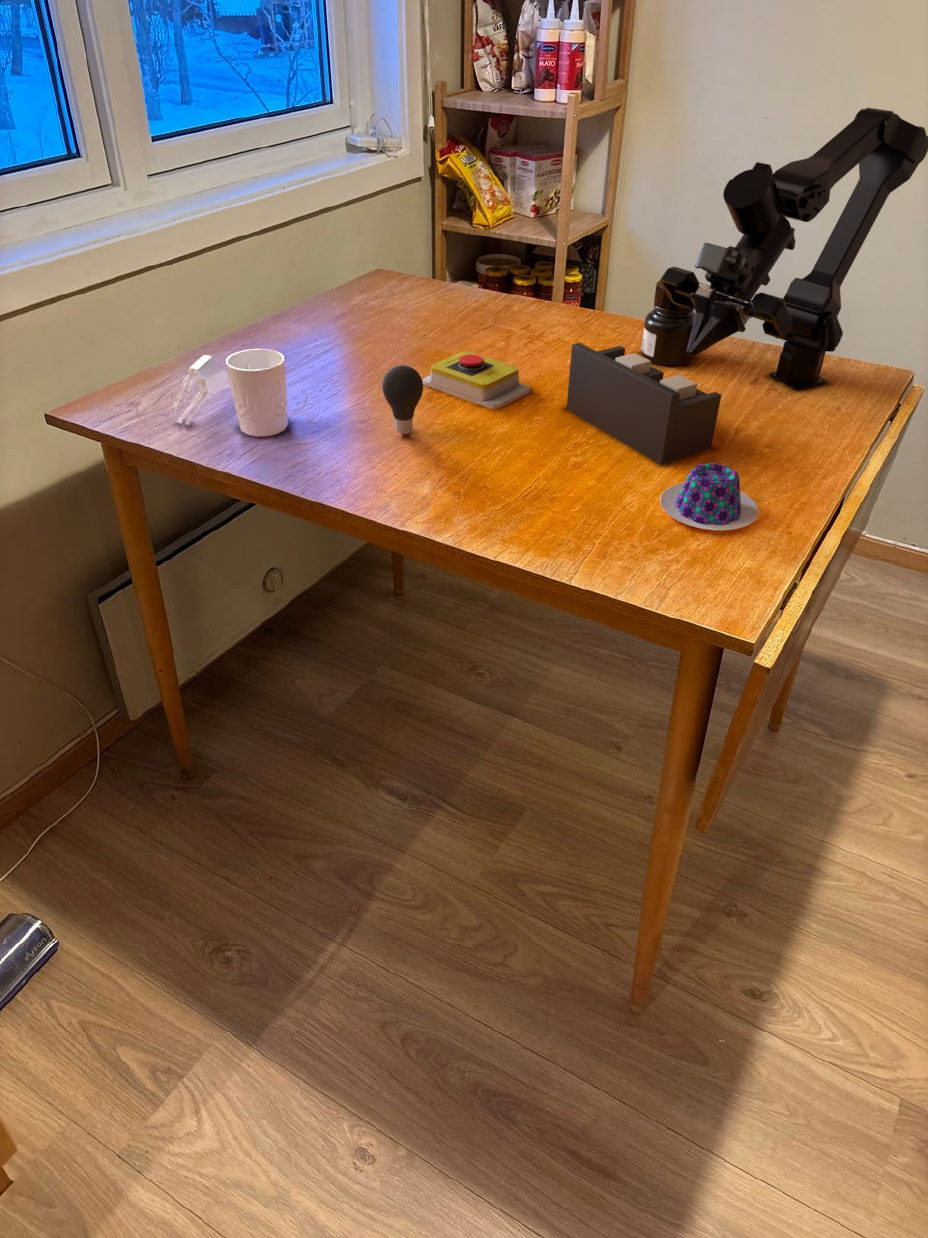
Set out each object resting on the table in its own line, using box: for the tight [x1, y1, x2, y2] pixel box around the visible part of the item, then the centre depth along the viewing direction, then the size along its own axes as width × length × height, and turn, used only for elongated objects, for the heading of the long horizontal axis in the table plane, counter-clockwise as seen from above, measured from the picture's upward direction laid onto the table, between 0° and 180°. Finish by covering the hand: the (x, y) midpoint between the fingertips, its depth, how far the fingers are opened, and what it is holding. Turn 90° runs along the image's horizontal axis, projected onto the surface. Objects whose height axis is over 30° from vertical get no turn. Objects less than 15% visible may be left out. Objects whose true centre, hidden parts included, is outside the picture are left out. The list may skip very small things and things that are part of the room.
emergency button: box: [422, 350, 531, 410], centre depth 143 cm, size 9×4×15 cm
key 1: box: [615, 352, 652, 374], centre depth 133 cm, size 4×4×2 cm
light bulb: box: [381, 364, 424, 437], centre depth 128 cm, size 6×6×10 cm
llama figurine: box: [169, 354, 231, 426], centre depth 136 cm, size 2×11×18 cm
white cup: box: [225, 348, 289, 437], centre depth 129 cm, size 8×8×10 cm
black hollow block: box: [565, 342, 722, 466], centre depth 130 cm, size 9×21×10 cm, turn 33°
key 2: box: [660, 374, 698, 400], centre depth 127 cm, size 4×4×2 cm
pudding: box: [659, 462, 759, 531], centre depth 113 cm, size 12×12×5 cm
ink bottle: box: [640, 280, 695, 367], centre depth 152 cm, size 10×9×12 cm
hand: (689, 354), depth 125 cm, fingers closed
